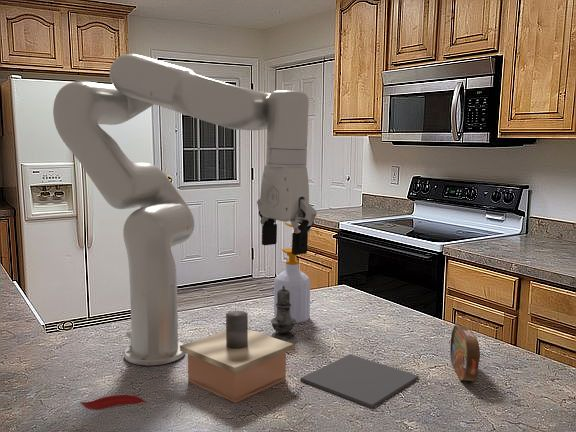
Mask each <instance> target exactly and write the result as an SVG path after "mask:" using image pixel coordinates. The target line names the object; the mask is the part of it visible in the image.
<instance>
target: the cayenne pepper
mask: <svg viewBox="0 0 576 432" xmlns="http://www.w3.org/2000/svg"><path fill="white" fill-rule="evenodd" d="M141 403H146V404H147V401H146V400H144V399H143V398H141V397H139V396H137V395H132V394H114V395H109V396H104V397H100V398H97V399H93V400H90V401H85V402H84V401H83V402H82V401H81V402H80V404H81V405H83V407H84V408H86V409H88V410H89V409H91V410H100V409H101V410H102V409H107V408H108V409H109V408H113V407H116V406H123V405H135V404H141Z"/></svg>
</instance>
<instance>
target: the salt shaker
mask: <svg viewBox="0 0 576 432" xmlns="http://www.w3.org/2000/svg"><path fill="white" fill-rule="evenodd" d="M282 288H283V289H281V290H279V291H278V293H277V304H276V306H277V315H276V318H275V317H273V318H271V320H270V323H271V326H272V328H273V330H274V332H273V333H272V334H271V337H273V338H276V339H279V340H282V341H286V340H292V339H293V338H294V337H295V336H296V335H295V333H293V332H292V331H293V330H294V328H295V324H297V323H296V320H295V319H293V318H291V316H290V306H291V304H290V292H289V291H288V290H286V289H285V286H283V287H282Z"/></svg>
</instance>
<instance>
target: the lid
mask: <svg viewBox="0 0 576 432" xmlns="http://www.w3.org/2000/svg"><path fill="white" fill-rule="evenodd" d="M248 317H249V316H248V312H247V311H244V310H231V311H229V312H226V313H225V330H223V331H219V332H217V333H214V334H211V335H208V336H205V337H202V338H198V339H195V340H194V341H191V342H190V341H189V342H187V343H183V344H184V345H181V346H180V351H182V352H184V353H185V354H187V355H188V354H189V355H192V356H194V357H196V358H199V359H201V360H204V361H206V362H208V363H211V364H213V365H216V366H218V367H221V368H223V369H225V370H228V371H230V372H233V373H237V372H240V371H242V370H244V369H247V368H249V367H252V366H254V365H256V364H259V363H261V362H264V361H266V360H268V359H271V358H273V357H276V356H278V355H281V354H283V353H285V352H286V353H288V352H290V351H293V350H294V343H292V342H288V341H286V340H280V339H276V338H273V337H272V336H270V335H267V334H263V333H262V332H257V331H254V330H251V329H248V327H249V326H248V324H249V323H248V322H249V321H248Z"/></svg>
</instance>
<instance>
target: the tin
mask: <svg viewBox="0 0 576 432" xmlns="http://www.w3.org/2000/svg"><path fill="white" fill-rule="evenodd" d="M449 354H450V362H451V365H452V367H453V369H454V372H455V373H456V376H457V379H458V380H459V381H465V382H476V380H477V378H478V375H479V373H478V372H479V365H480V359H481V349H480V342H479V341H478V339H477V338H476V336H475V335H474V332H473V331H472V330H471V329H470V327H468V326H466V325H465V326H464V325H458V324H455V325H454V326H453V328H452V332H451V336H450V351H449Z"/></svg>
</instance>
